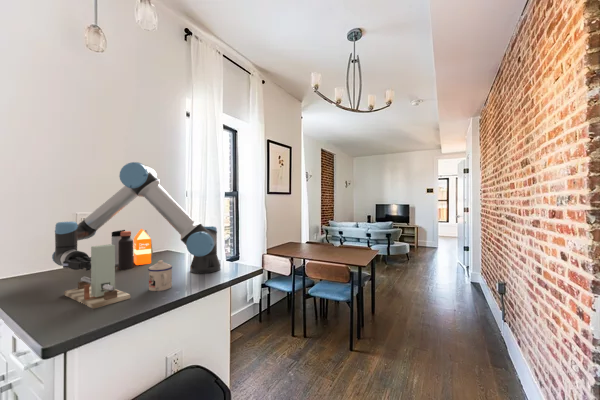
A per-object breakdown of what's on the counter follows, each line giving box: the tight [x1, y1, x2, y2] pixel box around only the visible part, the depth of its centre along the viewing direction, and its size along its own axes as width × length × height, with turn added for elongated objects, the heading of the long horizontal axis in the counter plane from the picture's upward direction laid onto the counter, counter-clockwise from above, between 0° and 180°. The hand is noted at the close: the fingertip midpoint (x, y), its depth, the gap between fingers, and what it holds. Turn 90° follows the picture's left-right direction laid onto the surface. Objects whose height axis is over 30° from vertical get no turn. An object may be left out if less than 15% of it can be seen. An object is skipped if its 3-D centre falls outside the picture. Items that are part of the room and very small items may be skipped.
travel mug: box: [111, 229, 126, 267], centre depth 161 cm, size 6×7×20 cm
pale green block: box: [90, 243, 116, 297], centre depth 104 cm, size 4×6×18 cm, turn 147°
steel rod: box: [80, 275, 114, 292], centre depth 107 cm, size 24×2×2 cm, turn 57°
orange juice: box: [133, 228, 152, 266], centre depth 165 cm, size 8×9×20 cm
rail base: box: [63, 281, 131, 309], centre depth 107 cm, size 26×12×6 cm, turn 57°
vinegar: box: [118, 230, 134, 271], centre depth 152 cm, size 7×7×20 cm
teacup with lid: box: [147, 259, 173, 292], centre depth 116 cm, size 12×9×12 cm
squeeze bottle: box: [144, 229, 154, 257], centre depth 178 cm, size 8×8×18 cm
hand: (100, 266), depth 105 cm, fingers closed
